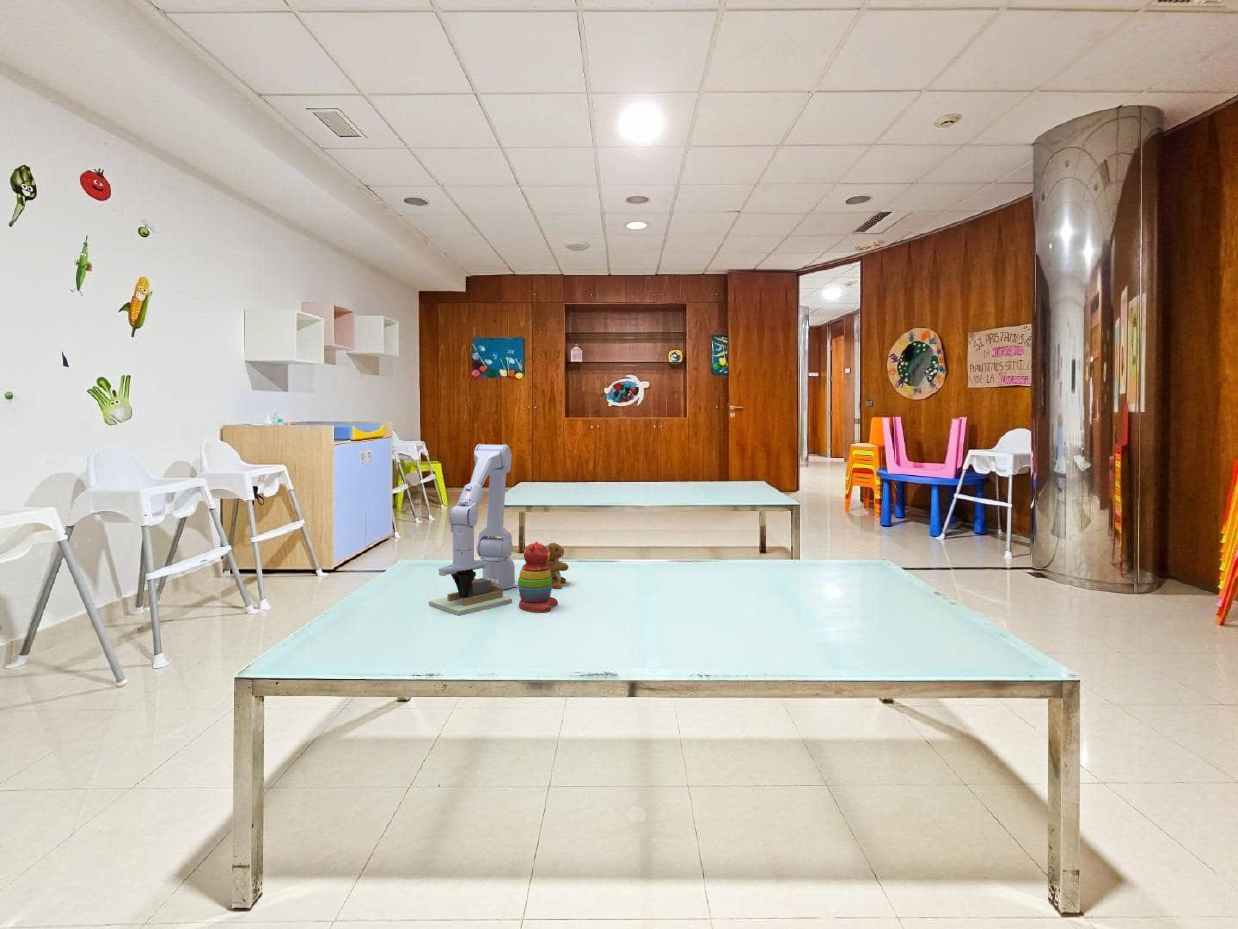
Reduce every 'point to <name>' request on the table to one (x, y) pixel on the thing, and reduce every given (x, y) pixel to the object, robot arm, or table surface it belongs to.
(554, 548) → the brown teddy bear
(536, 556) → the stacking bear
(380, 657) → the table surface
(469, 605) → the board
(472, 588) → the plug block
